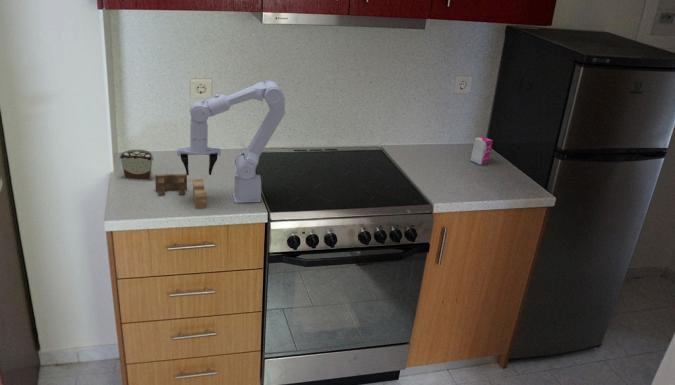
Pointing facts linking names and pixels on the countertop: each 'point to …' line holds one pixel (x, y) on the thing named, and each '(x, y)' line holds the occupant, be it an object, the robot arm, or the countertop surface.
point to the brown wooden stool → (171, 183)
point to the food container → (137, 164)
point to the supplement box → (481, 150)
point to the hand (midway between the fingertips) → (198, 174)
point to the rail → (199, 194)
